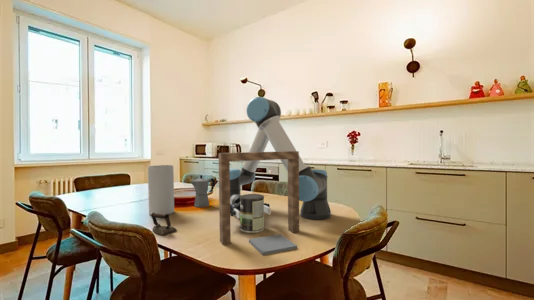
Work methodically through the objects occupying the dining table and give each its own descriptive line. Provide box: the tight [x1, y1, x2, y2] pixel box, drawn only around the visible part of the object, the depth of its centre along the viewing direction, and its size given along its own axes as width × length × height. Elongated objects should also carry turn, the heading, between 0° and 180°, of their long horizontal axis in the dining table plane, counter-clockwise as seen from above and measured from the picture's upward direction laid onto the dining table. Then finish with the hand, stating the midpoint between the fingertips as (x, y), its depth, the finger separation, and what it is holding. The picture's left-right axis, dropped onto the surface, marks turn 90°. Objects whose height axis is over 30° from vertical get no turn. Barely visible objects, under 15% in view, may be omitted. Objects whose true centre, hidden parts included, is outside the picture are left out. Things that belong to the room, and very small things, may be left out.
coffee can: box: [239, 193, 265, 234], centre depth 114 cm, size 10×10×14 cm
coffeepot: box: [189, 174, 216, 208], centre depth 159 cm, size 15×9×18 cm, turn 125°
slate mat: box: [248, 233, 298, 256], centre depth 96 cm, size 13×13×1 cm
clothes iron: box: [150, 213, 178, 237], centre depth 112 cm, size 7×11×10 cm, turn 60°
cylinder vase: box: [147, 164, 175, 216], centre depth 142 cm, size 12×12×25 cm
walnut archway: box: [218, 150, 300, 246], centre depth 105 cm, size 32×4×33 cm, turn 114°
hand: (254, 213), depth 111 cm, fingers open, 13 cm apart
